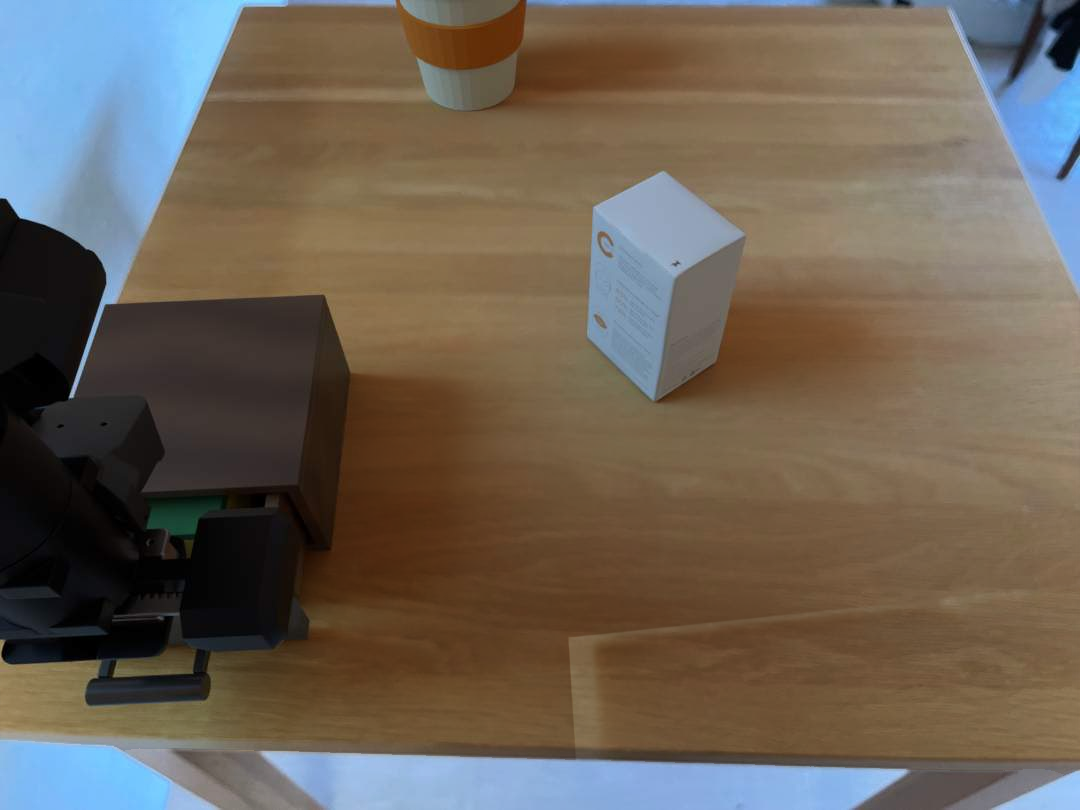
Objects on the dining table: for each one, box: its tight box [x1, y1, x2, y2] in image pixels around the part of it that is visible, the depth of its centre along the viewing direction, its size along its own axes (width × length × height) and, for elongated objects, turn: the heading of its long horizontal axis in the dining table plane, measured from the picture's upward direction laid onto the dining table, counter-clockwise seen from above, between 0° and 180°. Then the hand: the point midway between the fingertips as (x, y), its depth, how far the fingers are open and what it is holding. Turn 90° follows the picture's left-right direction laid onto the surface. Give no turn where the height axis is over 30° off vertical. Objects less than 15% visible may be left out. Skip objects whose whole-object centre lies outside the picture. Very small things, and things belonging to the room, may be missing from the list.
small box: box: [586, 170, 748, 403], centre depth 58 cm, size 8×6×13 cm
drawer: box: [84, 492, 311, 707], centre depth 50 cm, size 18×13×7 cm
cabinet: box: [72, 294, 351, 552], centre depth 55 cm, size 15×15×9 cm
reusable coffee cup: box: [395, 0, 528, 112], centre depth 77 cm, size 13×13×15 cm
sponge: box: [146, 494, 253, 558], centre depth 52 cm, size 7×5×4 cm, turn 3°
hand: (155, 647), depth 45 cm, fingers closed
